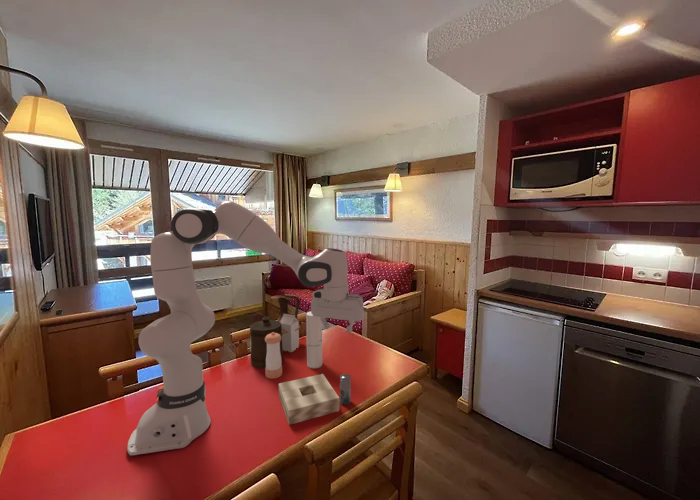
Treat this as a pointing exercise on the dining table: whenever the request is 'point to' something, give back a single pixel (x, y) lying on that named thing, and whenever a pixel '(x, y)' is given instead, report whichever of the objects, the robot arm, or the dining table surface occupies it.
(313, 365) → the cylindrical container
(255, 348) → the wooden container
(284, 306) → the pitcher
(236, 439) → the dining table surface
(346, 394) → the pin
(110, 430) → the dining table surface
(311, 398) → the socket block
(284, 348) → the milk carton
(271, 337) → the pepper shaker
